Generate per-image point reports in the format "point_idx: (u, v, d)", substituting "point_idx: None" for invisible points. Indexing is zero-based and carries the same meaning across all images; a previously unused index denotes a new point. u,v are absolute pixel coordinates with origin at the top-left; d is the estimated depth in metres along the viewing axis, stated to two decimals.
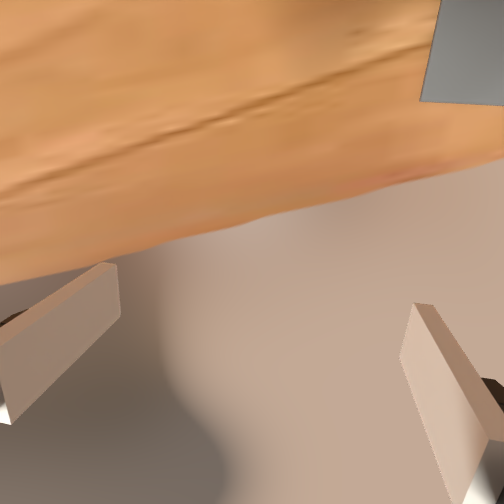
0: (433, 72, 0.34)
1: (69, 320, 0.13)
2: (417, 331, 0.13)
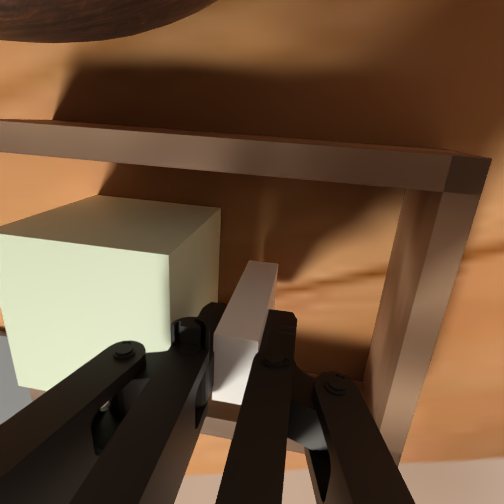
0: None
1: None
2: None
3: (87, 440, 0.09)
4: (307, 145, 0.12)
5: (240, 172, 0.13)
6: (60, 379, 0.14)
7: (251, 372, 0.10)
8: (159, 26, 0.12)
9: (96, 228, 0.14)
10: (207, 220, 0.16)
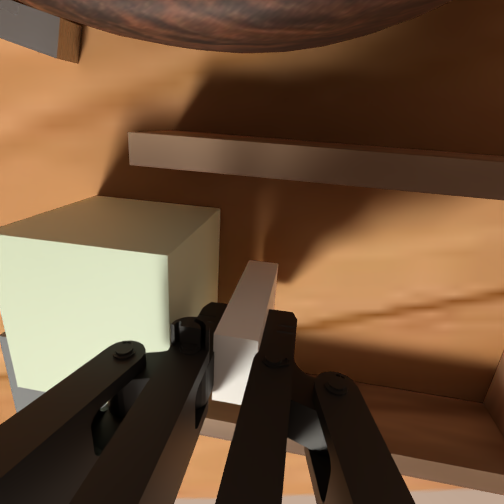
0: None
1: None
2: None
3: (87, 440, 0.09)
4: None
5: (430, 192, 0.12)
6: (59, 380, 0.14)
7: (251, 372, 0.10)
8: None
9: (95, 228, 0.14)
10: (206, 221, 0.16)
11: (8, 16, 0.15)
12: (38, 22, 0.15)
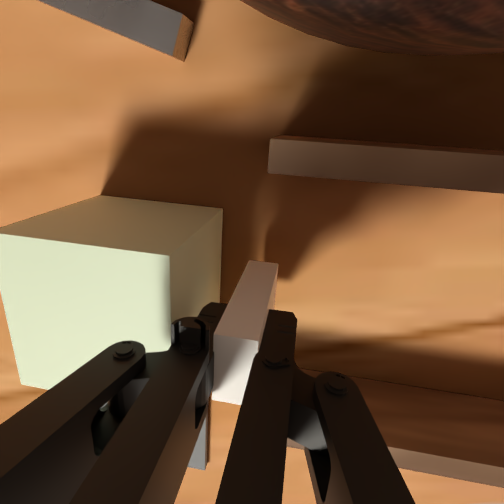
0: None
1: None
2: None
3: (87, 440, 0.09)
4: None
5: None
6: (62, 378, 0.14)
7: (251, 372, 0.10)
8: None
9: (98, 228, 0.14)
10: (208, 221, 0.16)
11: (126, 9, 0.14)
12: (157, 17, 0.14)
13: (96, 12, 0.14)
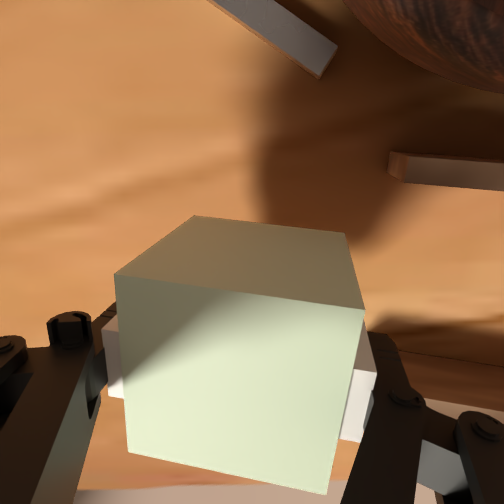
0: None
1: None
2: None
3: None
4: None
5: None
6: (184, 447, 0.12)
7: (375, 404, 0.09)
8: None
9: (238, 266, 0.11)
10: (349, 252, 0.13)
11: (292, 31, 0.18)
12: (316, 44, 0.18)
13: (267, 27, 0.18)
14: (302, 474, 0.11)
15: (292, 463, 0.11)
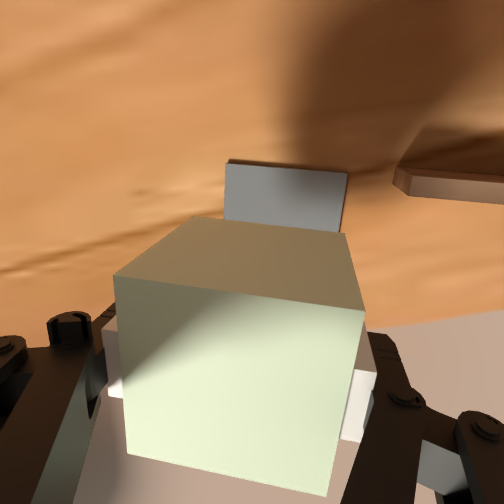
0: None
1: None
2: None
3: None
4: None
5: None
6: (184, 449, 0.12)
7: (375, 404, 0.09)
8: None
9: (238, 267, 0.11)
10: (349, 252, 0.13)
11: None
12: None
13: None
14: (301, 476, 0.11)
15: (292, 465, 0.11)
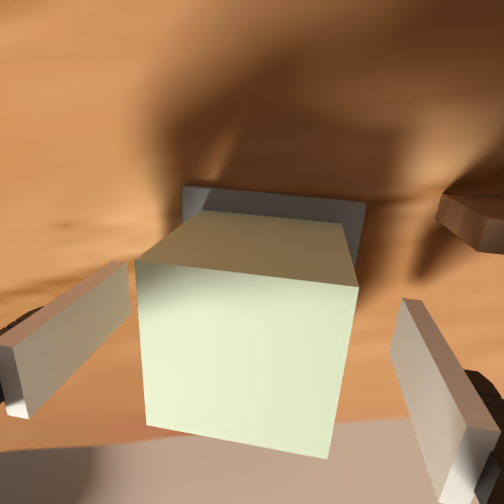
0: None
1: (83, 317, 0.13)
2: (405, 326, 0.13)
3: None
4: None
5: None
6: (198, 419, 0.13)
7: None
8: None
9: (245, 252, 0.12)
10: None
11: None
12: None
13: None
14: (305, 441, 0.12)
15: (296, 430, 0.12)
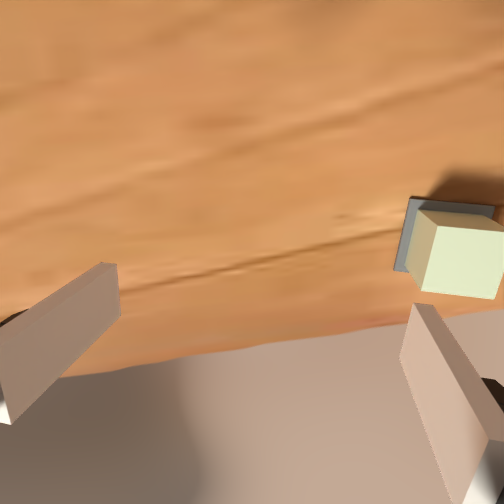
0: (404, 251, 0.41)
1: (69, 320, 0.13)
2: (417, 331, 0.13)
3: None
4: None
5: None
6: (444, 286, 0.35)
7: None
8: None
9: (466, 224, 0.34)
10: None
11: None
12: None
13: None
14: (486, 292, 0.35)
15: (484, 288, 0.34)
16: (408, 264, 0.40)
